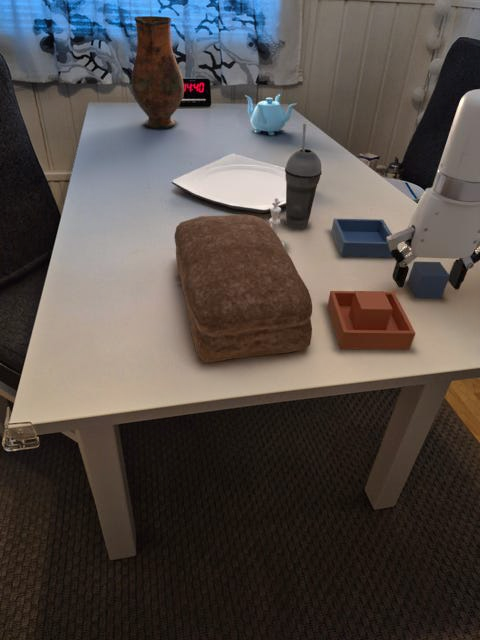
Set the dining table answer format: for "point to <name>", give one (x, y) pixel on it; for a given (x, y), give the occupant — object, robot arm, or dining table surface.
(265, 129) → the teapot
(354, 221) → the slate bin
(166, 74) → the brown vase
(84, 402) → the dining table surface
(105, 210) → the dining table surface
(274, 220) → the chess piece
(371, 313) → the terracotta block
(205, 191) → the plate
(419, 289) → the slate block
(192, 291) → the bread
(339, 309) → the terracotta bin
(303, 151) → the beverage cup
